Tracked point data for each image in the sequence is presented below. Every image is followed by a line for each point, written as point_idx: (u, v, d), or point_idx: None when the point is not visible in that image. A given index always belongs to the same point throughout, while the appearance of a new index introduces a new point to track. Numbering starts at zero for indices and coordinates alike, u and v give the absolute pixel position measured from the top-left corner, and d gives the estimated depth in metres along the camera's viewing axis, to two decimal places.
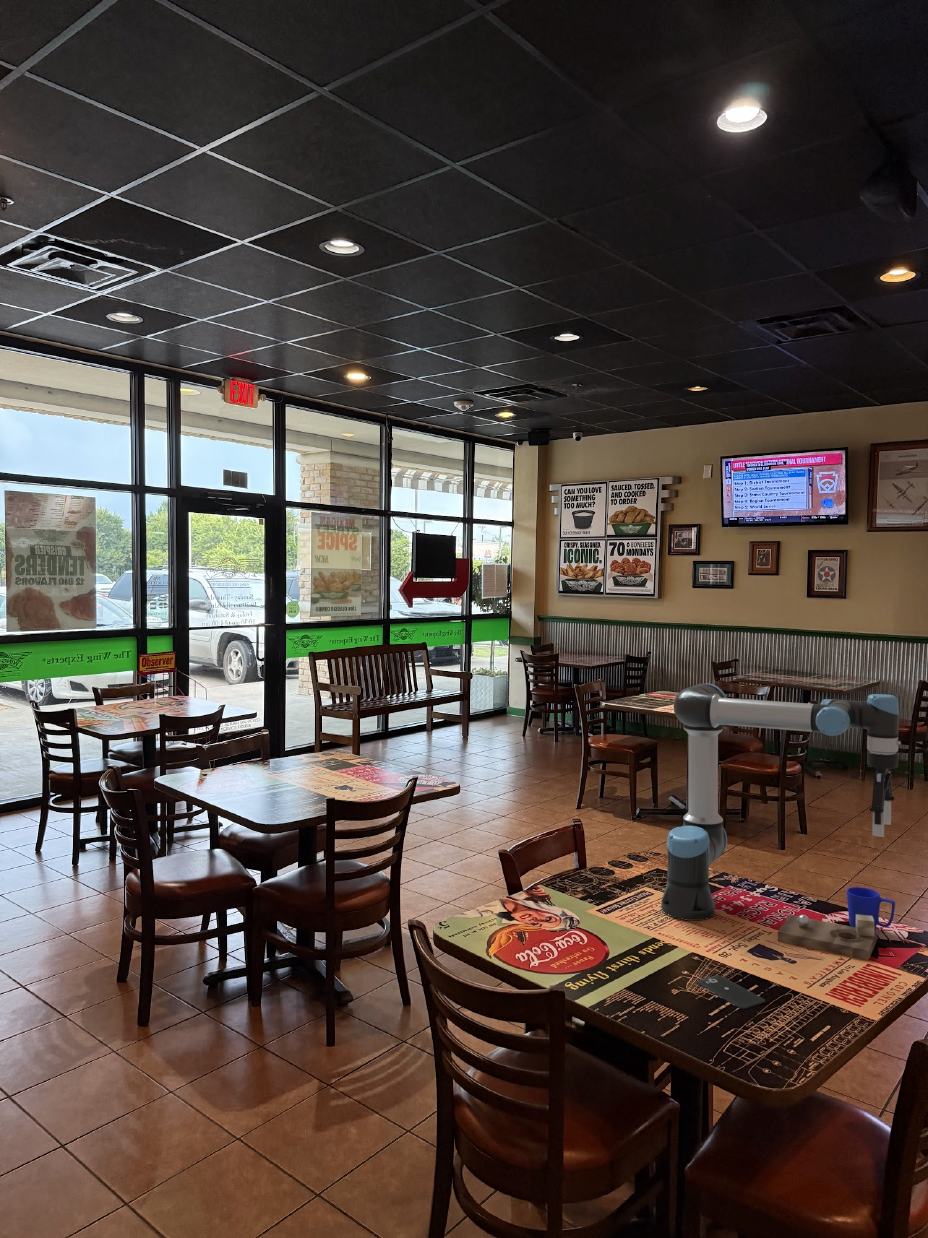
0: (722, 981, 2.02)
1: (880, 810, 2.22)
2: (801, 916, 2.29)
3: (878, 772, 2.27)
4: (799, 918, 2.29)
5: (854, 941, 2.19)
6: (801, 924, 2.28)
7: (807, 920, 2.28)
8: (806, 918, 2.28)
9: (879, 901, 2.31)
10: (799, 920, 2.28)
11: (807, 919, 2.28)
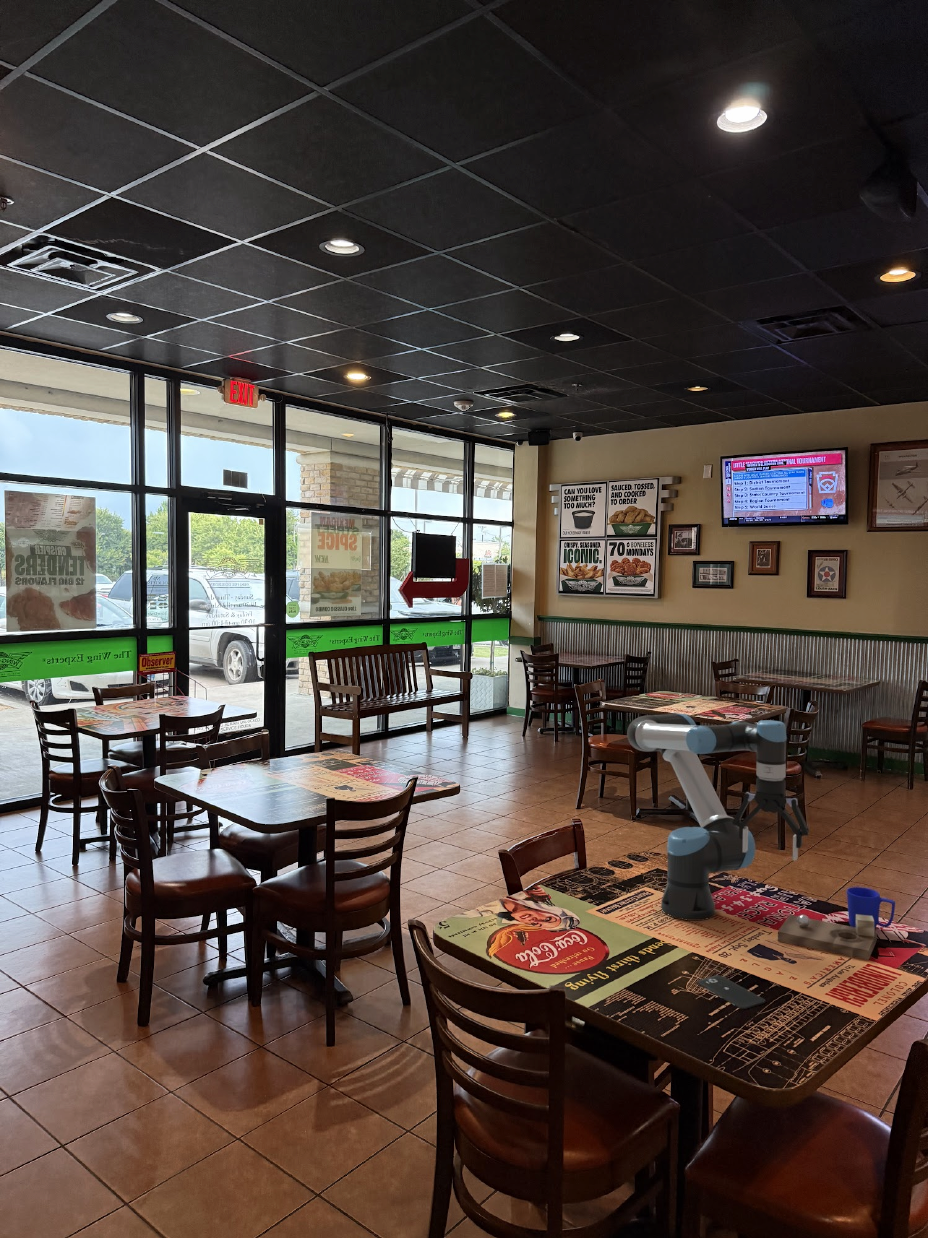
0: (722, 981, 2.02)
1: None
2: (801, 916, 2.29)
3: None
4: (799, 918, 2.29)
5: (854, 941, 2.19)
6: (801, 924, 2.28)
7: (807, 920, 2.28)
8: (806, 918, 2.28)
9: (879, 901, 2.31)
10: (799, 920, 2.28)
11: (807, 919, 2.28)
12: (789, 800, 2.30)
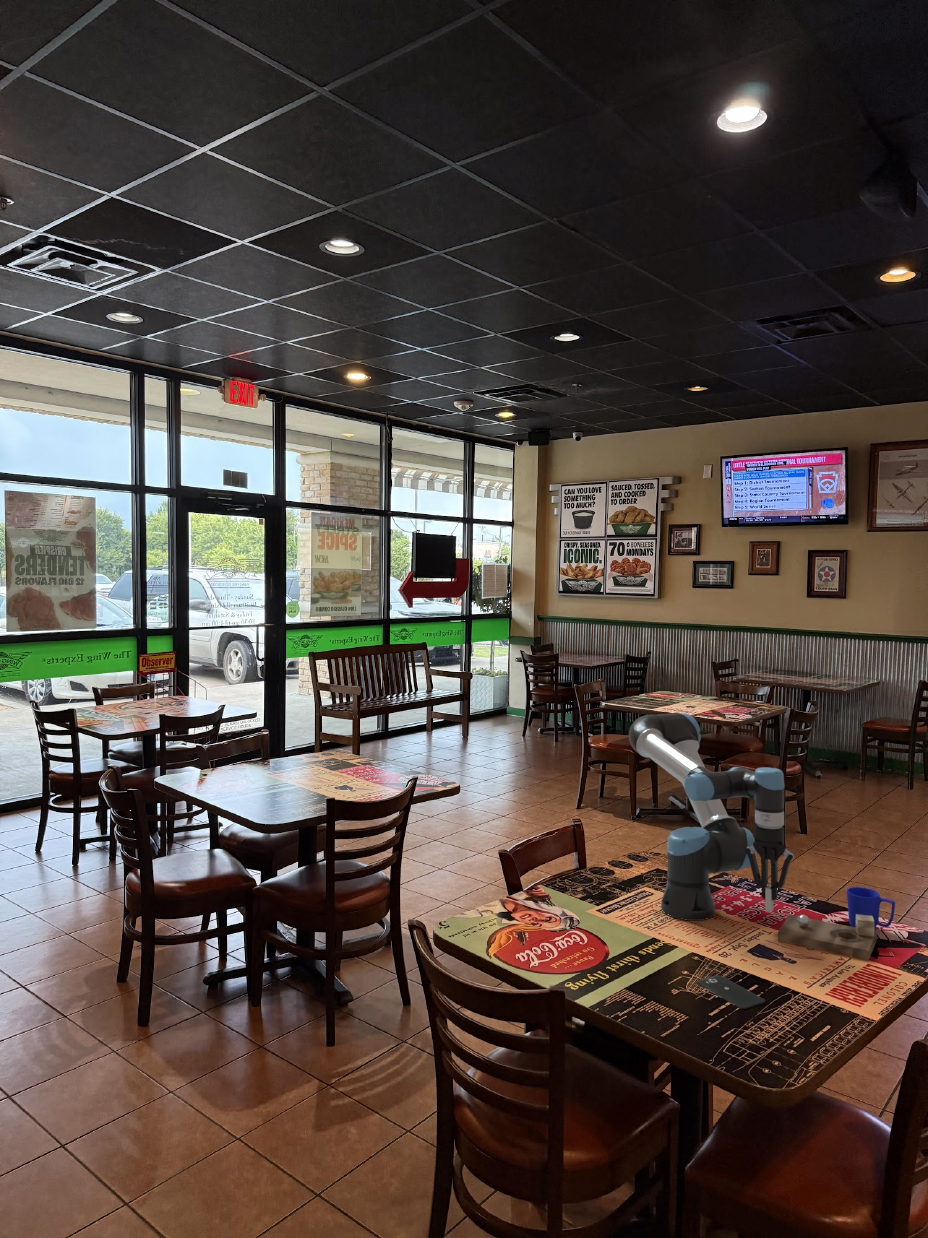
0: (722, 981, 2.02)
1: None
2: (801, 916, 2.29)
3: None
4: (799, 918, 2.29)
5: (854, 941, 2.19)
6: (801, 924, 2.28)
7: (807, 920, 2.28)
8: (806, 918, 2.28)
9: (879, 901, 2.31)
10: (799, 920, 2.28)
11: (807, 919, 2.28)
12: (787, 853, 2.30)
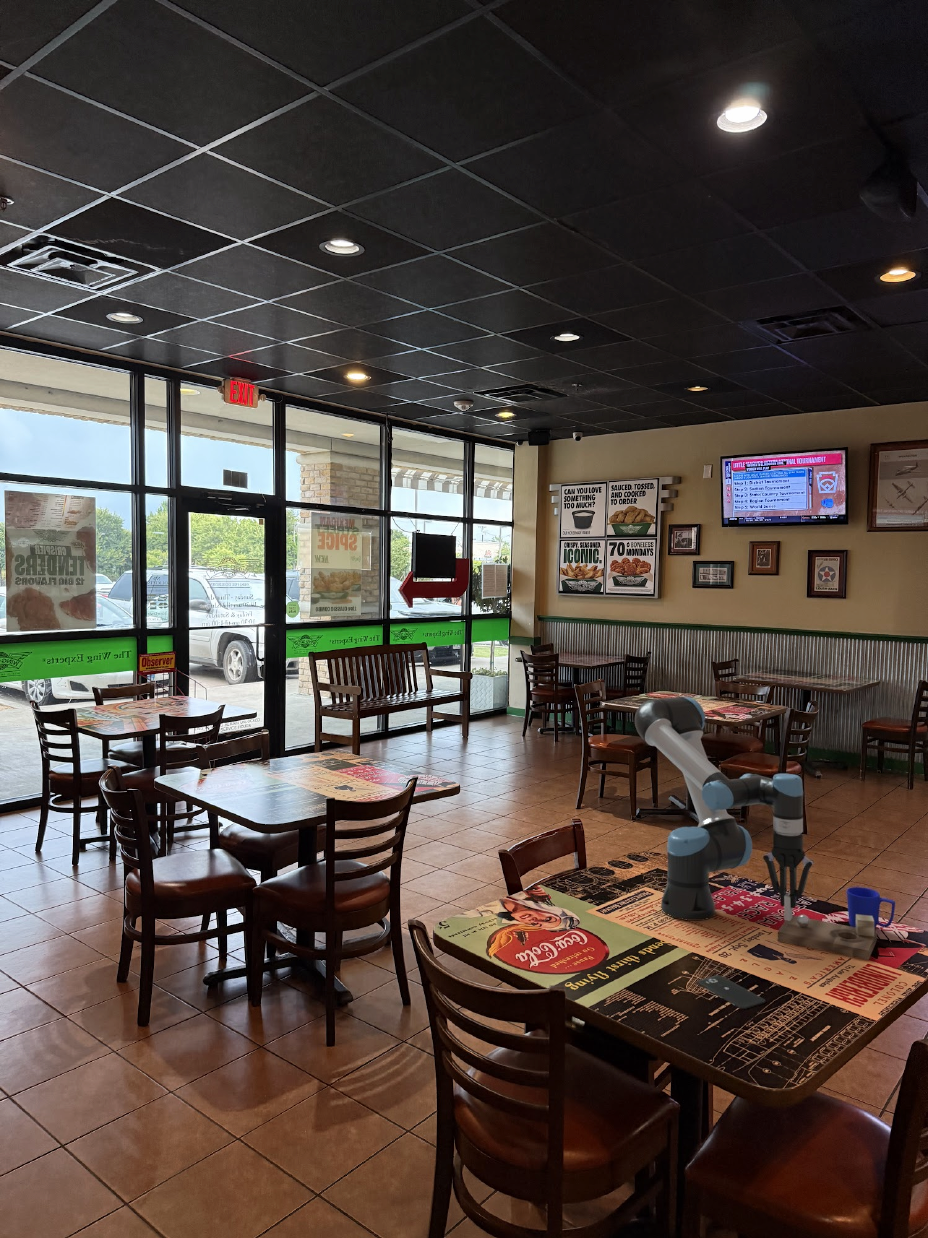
0: (722, 981, 2.02)
1: None
2: (801, 916, 2.29)
3: None
4: (799, 918, 2.29)
5: (854, 941, 2.19)
6: (801, 924, 2.28)
7: (807, 920, 2.28)
8: (806, 918, 2.28)
9: (879, 901, 2.31)
10: (799, 920, 2.28)
11: (807, 919, 2.28)
12: (806, 860, 2.27)
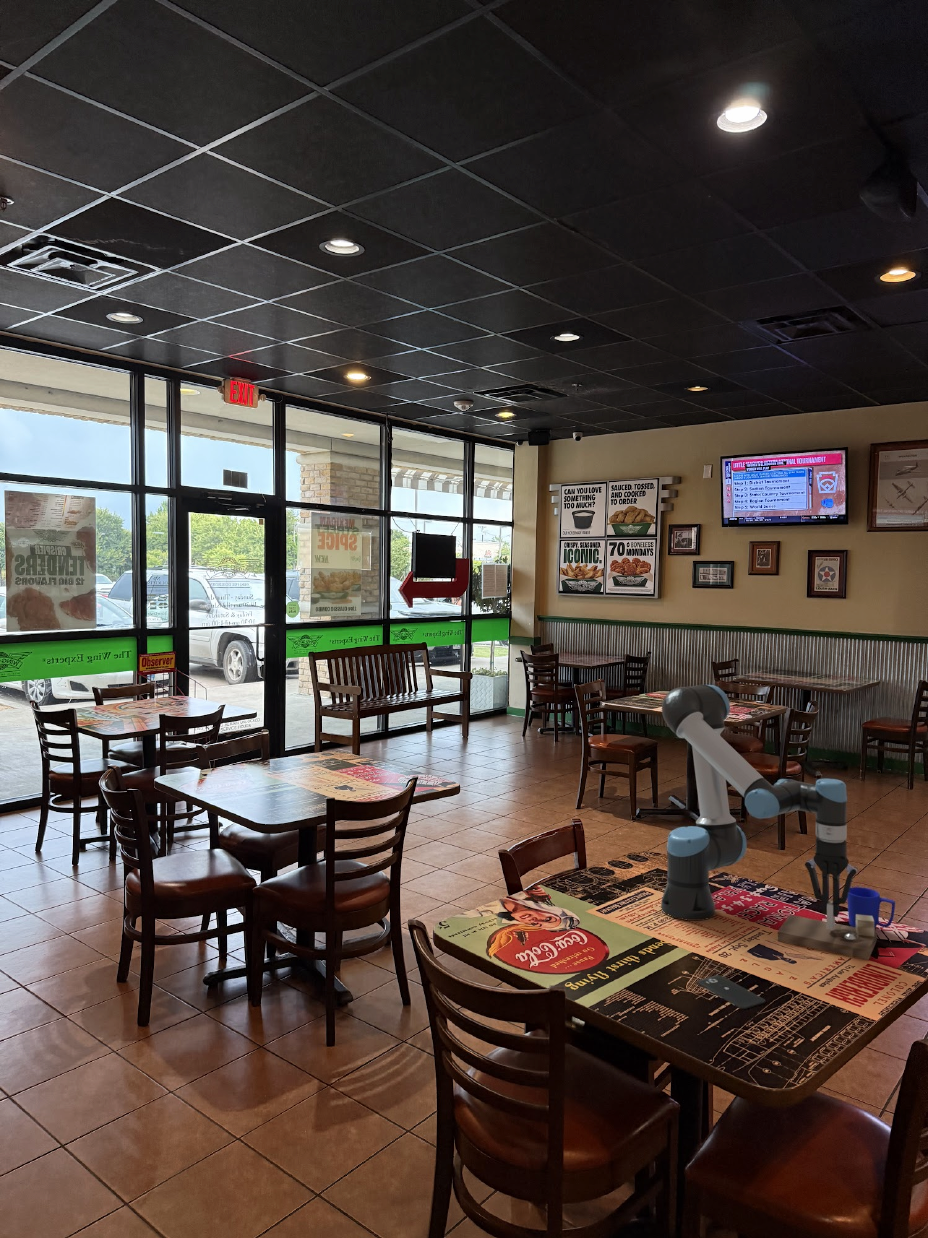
0: (722, 981, 2.02)
1: None
2: None
3: None
4: None
5: (854, 941, 2.19)
6: None
7: None
8: None
9: (879, 901, 2.31)
10: None
11: None
12: (850, 867, 2.22)
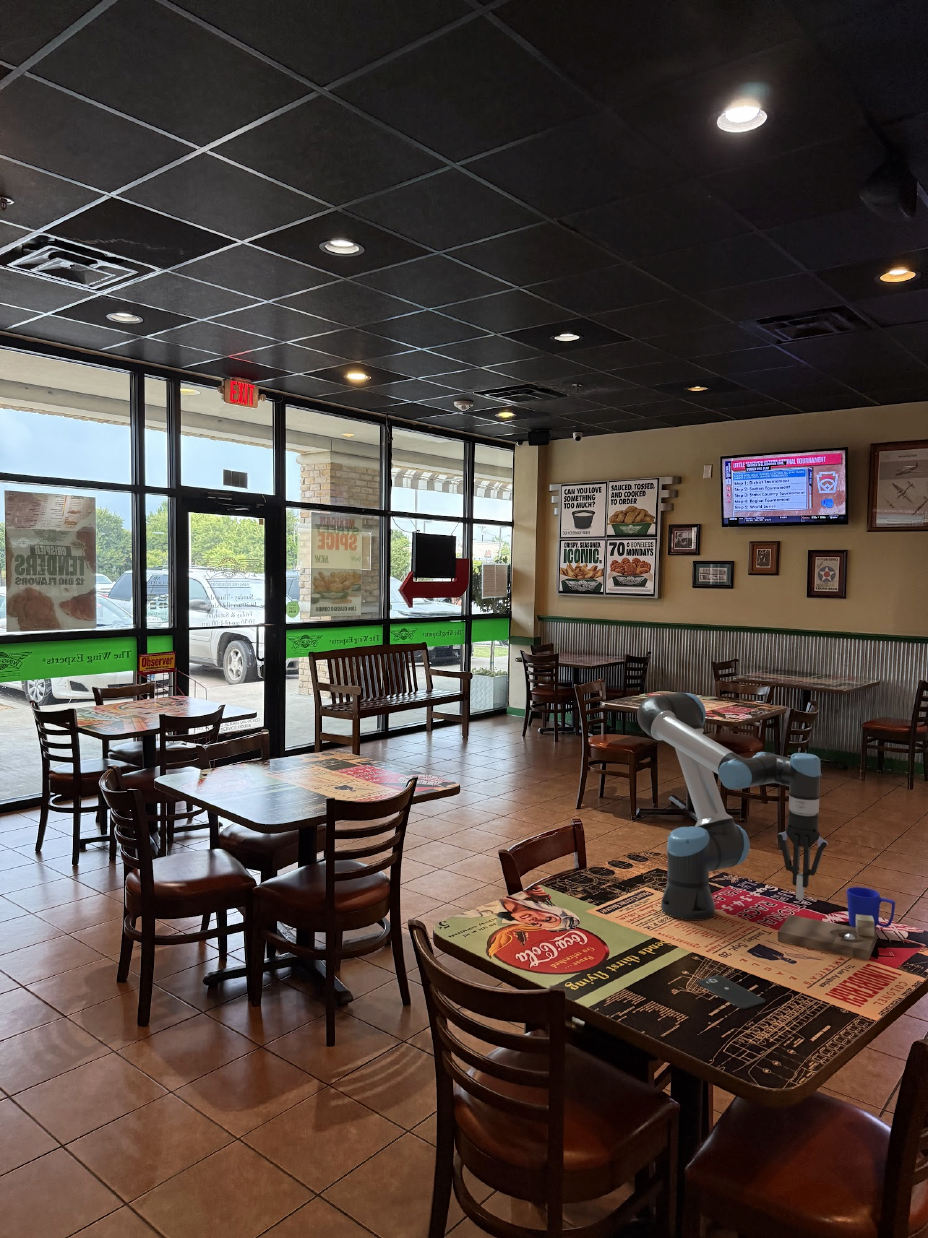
0: (722, 981, 2.02)
1: None
2: None
3: None
4: None
5: (854, 941, 2.19)
6: None
7: None
8: None
9: (879, 901, 2.31)
10: None
11: None
12: (821, 840, 2.26)
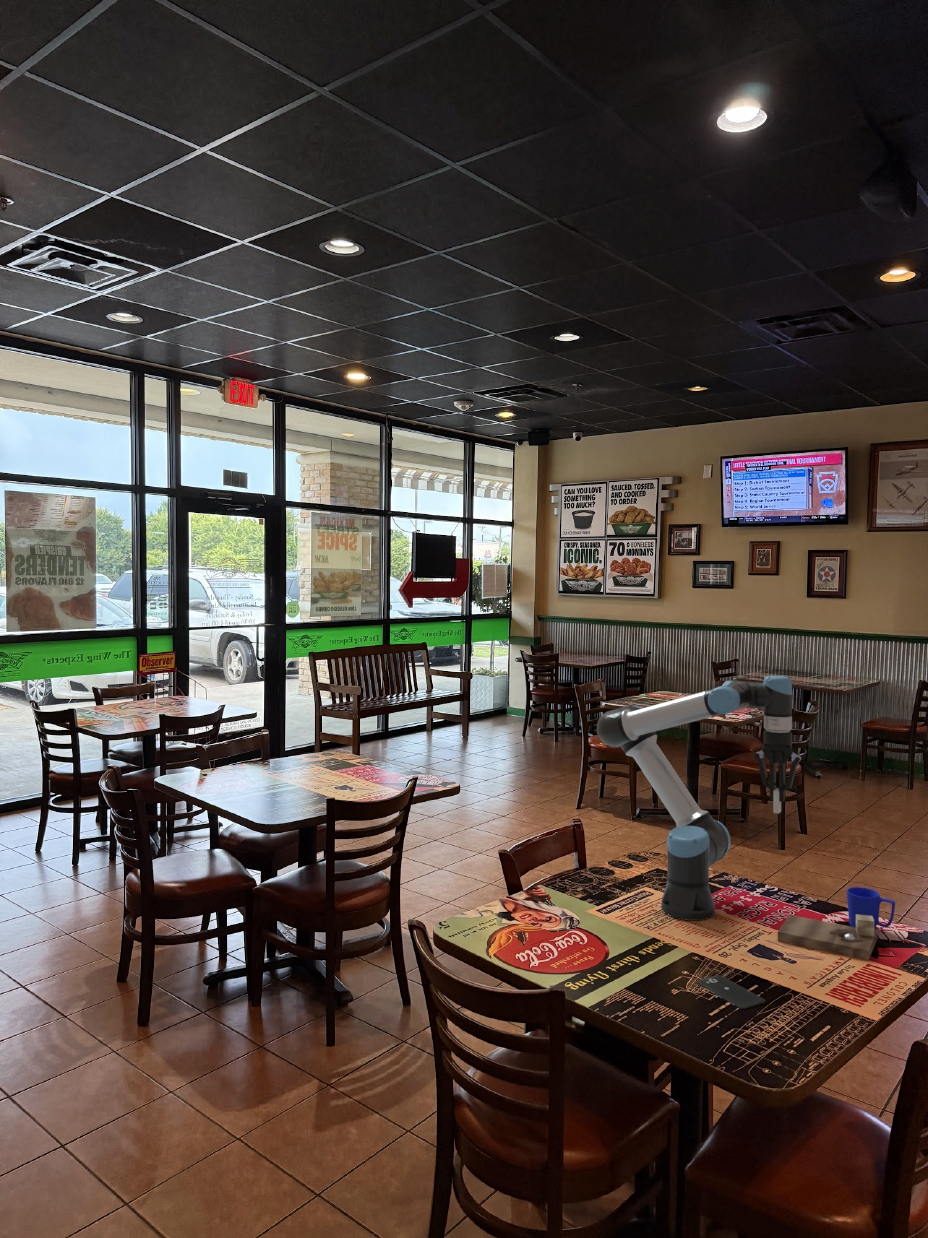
0: (722, 981, 2.02)
1: None
2: None
3: None
4: None
5: (854, 941, 2.19)
6: None
7: None
8: None
9: (879, 901, 2.31)
10: None
11: None
12: (794, 755, 2.41)
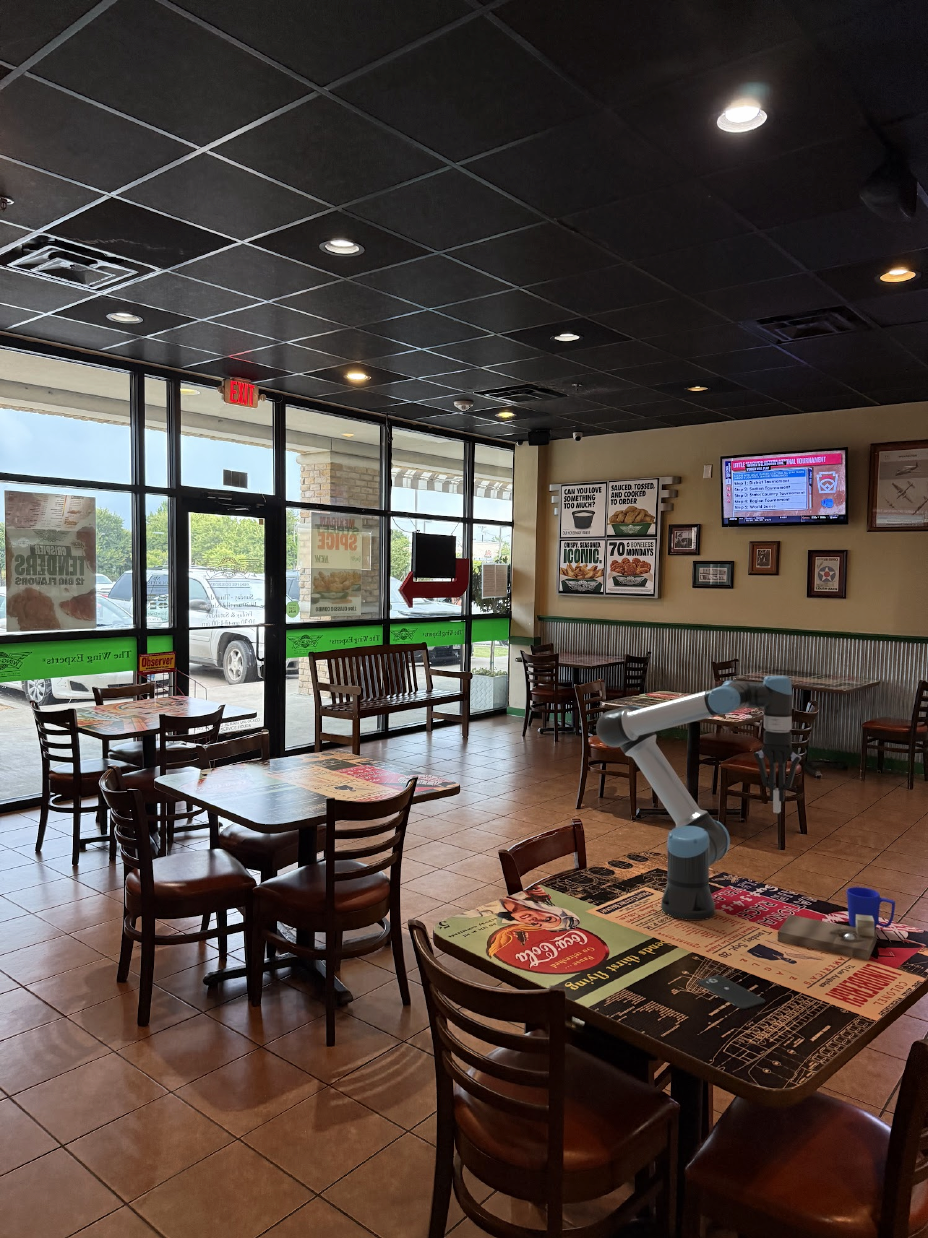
0: (722, 981, 2.02)
1: None
2: None
3: None
4: (852, 938, 2.21)
5: (854, 941, 2.19)
6: None
7: None
8: None
9: (879, 901, 2.31)
10: None
11: None
12: (794, 755, 2.41)
